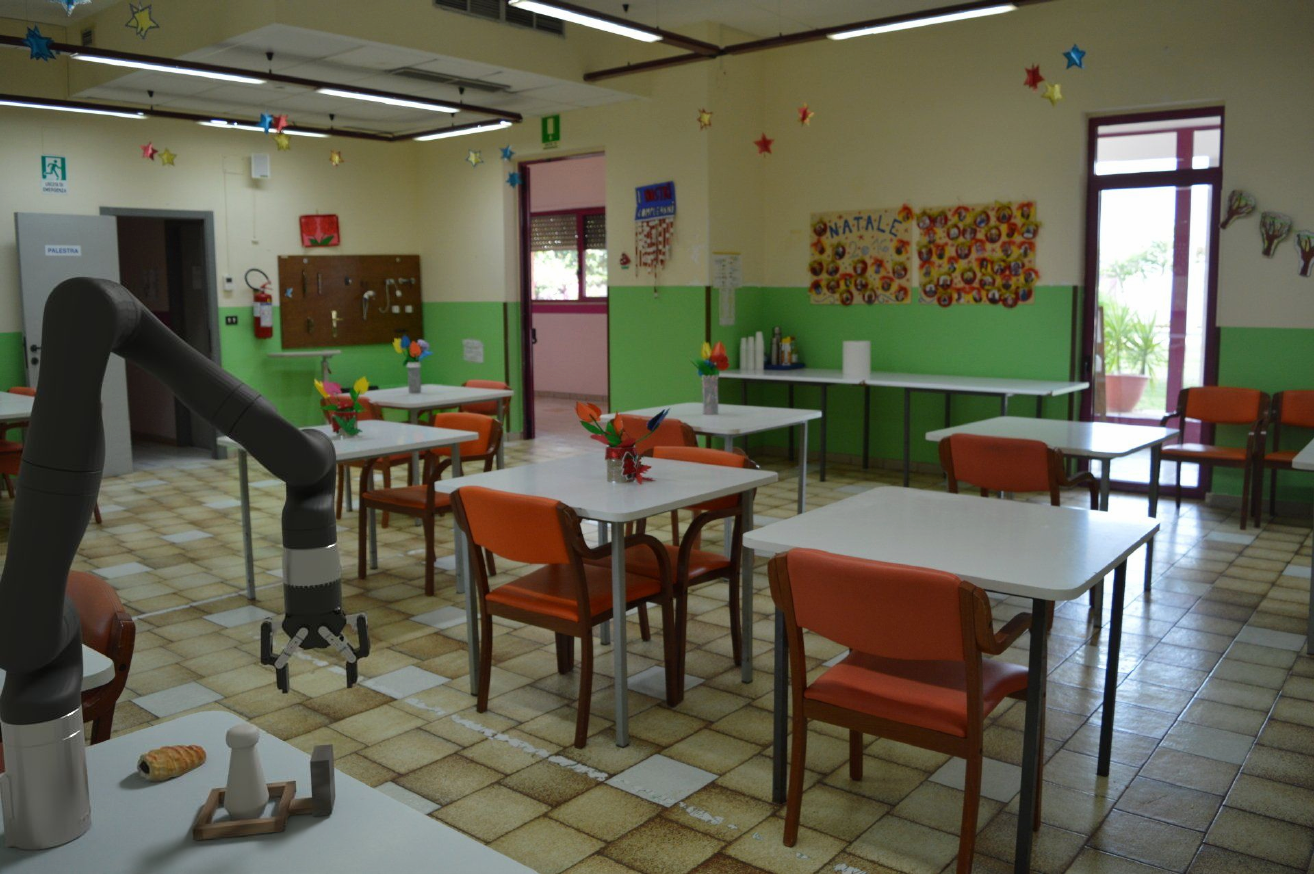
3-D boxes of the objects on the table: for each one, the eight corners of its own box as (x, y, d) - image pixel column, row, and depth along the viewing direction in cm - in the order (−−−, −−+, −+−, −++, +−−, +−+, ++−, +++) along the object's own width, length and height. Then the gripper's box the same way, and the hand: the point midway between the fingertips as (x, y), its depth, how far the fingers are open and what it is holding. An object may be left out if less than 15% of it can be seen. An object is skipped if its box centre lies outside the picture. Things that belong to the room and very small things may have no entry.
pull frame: (193, 840, 133) (189, 783, 131) (212, 798, 144) (209, 745, 142) (329, 825, 136) (326, 770, 135) (337, 786, 147) (335, 734, 146)
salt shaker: (253, 829, 136) (248, 738, 134) (215, 824, 137) (210, 734, 135) (278, 807, 142) (273, 720, 140) (241, 803, 143) (236, 717, 141)
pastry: (195, 753, 159) (193, 730, 159) (215, 766, 155) (213, 742, 154) (133, 774, 152) (131, 750, 152) (152, 788, 148) (151, 764, 147)
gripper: (251, 587, 132) (259, 704, 134) (364, 579, 135) (369, 694, 137) (261, 571, 139) (269, 683, 141) (368, 565, 142) (373, 674, 144)
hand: (318, 688), depth 139 cm, fingers open, 8 cm apart
